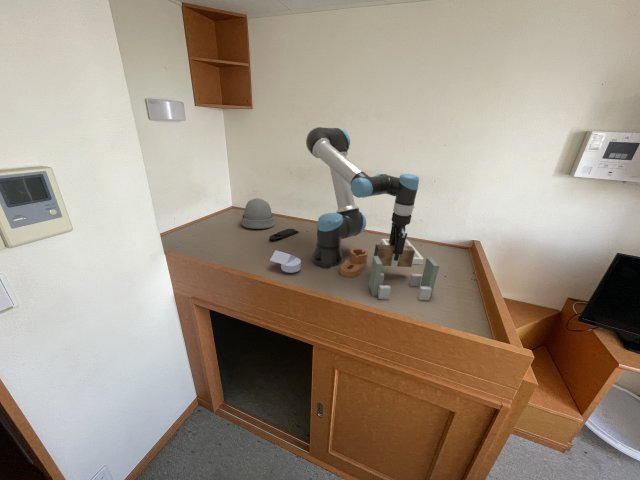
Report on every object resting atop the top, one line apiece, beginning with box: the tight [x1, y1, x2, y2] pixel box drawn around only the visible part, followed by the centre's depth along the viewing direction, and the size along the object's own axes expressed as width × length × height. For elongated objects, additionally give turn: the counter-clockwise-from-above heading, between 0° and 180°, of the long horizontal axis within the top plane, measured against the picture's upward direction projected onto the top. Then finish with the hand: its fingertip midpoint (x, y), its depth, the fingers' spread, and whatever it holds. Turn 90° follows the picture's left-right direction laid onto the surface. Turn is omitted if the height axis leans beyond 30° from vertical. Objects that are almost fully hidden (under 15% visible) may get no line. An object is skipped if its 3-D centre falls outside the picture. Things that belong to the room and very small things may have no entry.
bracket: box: [339, 247, 369, 278], centre depth 125 cm, size 18×8×7 cm, turn 148°
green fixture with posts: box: [368, 255, 440, 301], centre depth 108 cm, size 24×12×14 cm, turn 92°
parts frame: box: [380, 238, 425, 265], centre depth 145 cm, size 15×25×3 cm, turn 2°
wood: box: [269, 228, 300, 241], centre depth 159 cm, size 22×7×3 cm, turn 142°
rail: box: [373, 244, 415, 268], centre depth 118 cm, size 16×4×8 cm, turn 92°
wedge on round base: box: [269, 250, 302, 274], centre depth 124 cm, size 9×7×13 cm
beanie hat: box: [241, 197, 276, 230], centre depth 173 cm, size 21×21×20 cm
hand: (392, 263), depth 120 cm, fingers closed on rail, 4 cm apart
